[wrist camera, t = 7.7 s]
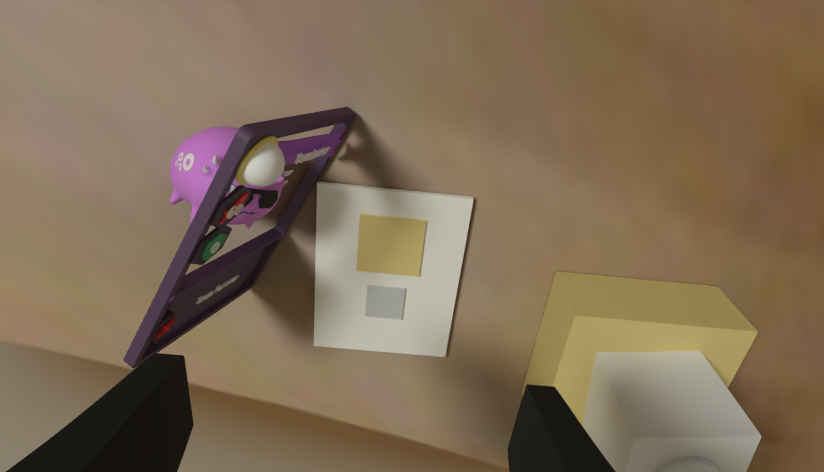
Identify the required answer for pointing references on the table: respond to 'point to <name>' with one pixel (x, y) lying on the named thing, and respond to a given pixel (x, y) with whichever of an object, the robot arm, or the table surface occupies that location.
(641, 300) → the base brick
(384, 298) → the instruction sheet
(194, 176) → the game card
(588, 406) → the top brick
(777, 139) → the table surface
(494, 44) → the table surface
